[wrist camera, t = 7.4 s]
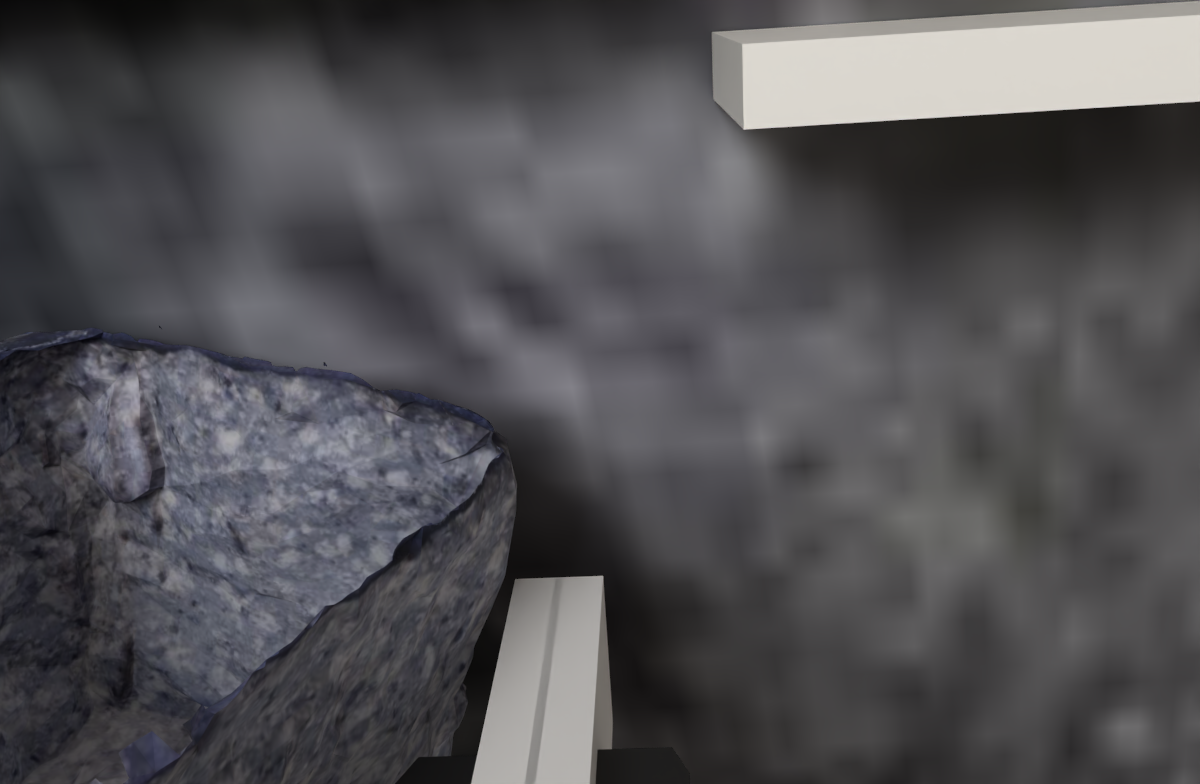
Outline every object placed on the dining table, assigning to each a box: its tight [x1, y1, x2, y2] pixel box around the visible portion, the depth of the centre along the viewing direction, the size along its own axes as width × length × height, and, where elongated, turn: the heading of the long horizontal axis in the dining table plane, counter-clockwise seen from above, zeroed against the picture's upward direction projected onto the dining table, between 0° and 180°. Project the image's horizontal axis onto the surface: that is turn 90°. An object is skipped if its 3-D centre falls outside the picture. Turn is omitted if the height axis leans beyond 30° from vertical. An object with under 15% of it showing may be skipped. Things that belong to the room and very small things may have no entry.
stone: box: [0, 326, 517, 784], centre depth 15 cm, size 12×10×10 cm
